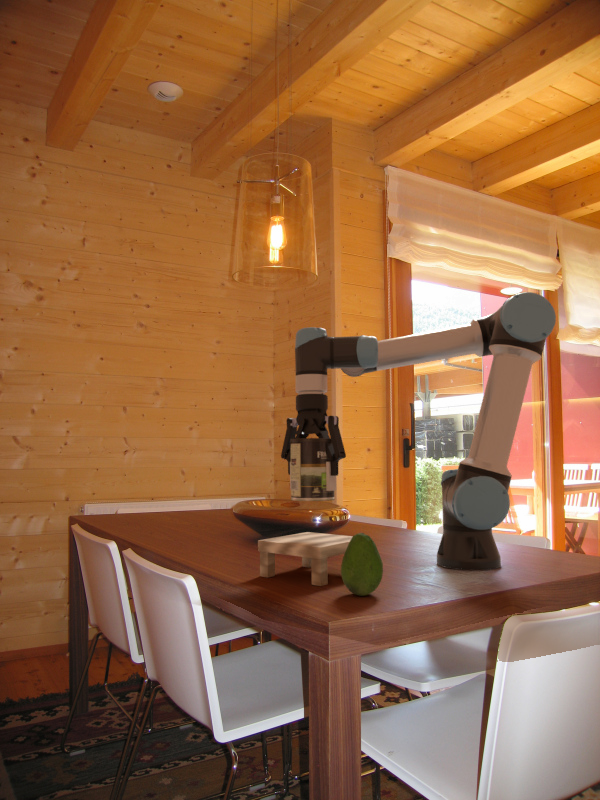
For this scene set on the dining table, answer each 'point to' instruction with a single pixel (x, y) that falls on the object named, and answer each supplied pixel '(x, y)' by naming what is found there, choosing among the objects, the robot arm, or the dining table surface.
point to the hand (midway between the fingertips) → (312, 489)
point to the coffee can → (309, 469)
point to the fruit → (361, 565)
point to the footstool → (303, 552)
